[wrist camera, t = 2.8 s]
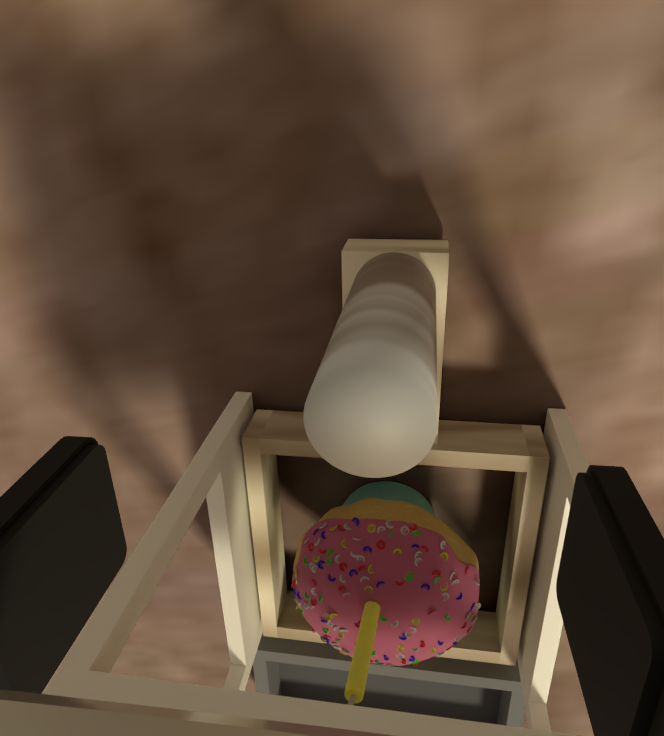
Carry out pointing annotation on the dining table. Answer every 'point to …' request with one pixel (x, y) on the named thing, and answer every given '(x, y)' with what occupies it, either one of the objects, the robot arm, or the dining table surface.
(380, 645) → the cupcake
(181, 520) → the white open frame box
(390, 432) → the cream frame with post
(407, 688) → the grey shallow rectangular tray
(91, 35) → the dining table surface
